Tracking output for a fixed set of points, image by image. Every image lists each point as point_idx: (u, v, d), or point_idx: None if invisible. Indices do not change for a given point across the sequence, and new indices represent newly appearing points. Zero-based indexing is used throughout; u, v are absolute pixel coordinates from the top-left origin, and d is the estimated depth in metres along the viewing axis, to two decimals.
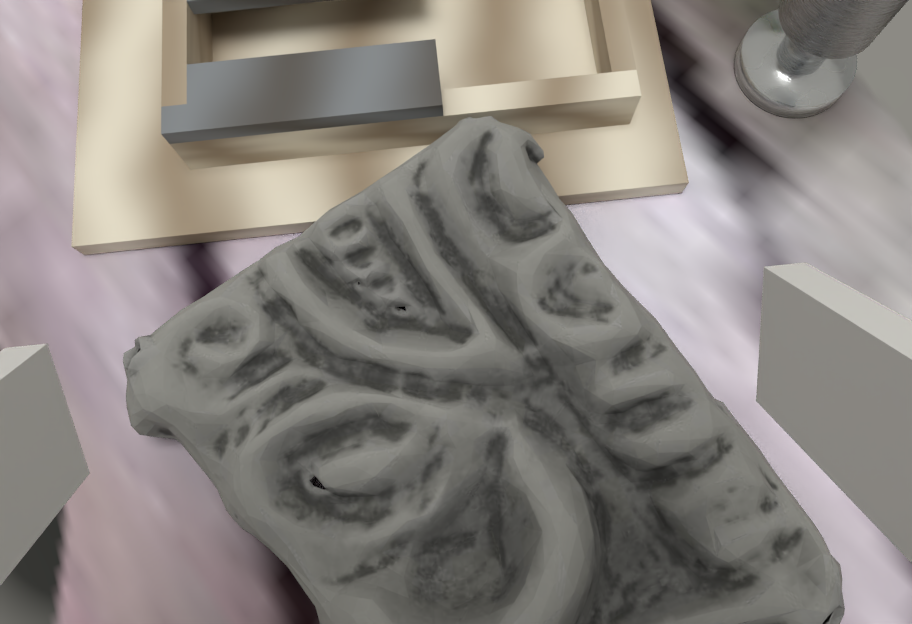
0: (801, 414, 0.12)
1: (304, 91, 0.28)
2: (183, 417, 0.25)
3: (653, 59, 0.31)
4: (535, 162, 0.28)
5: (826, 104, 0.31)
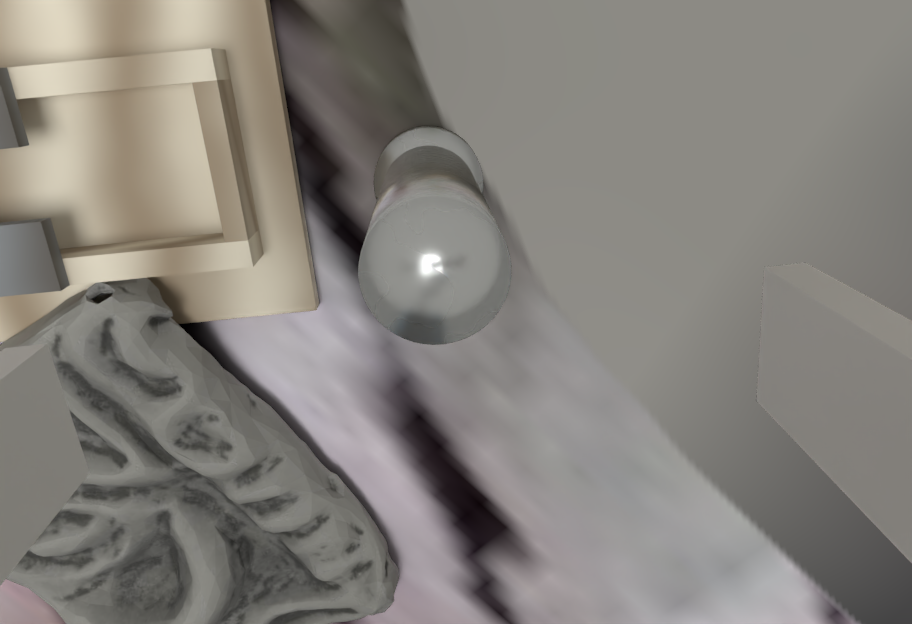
0: (801, 414, 0.12)
1: None
2: None
3: (286, 186, 0.32)
4: (165, 320, 0.32)
5: None
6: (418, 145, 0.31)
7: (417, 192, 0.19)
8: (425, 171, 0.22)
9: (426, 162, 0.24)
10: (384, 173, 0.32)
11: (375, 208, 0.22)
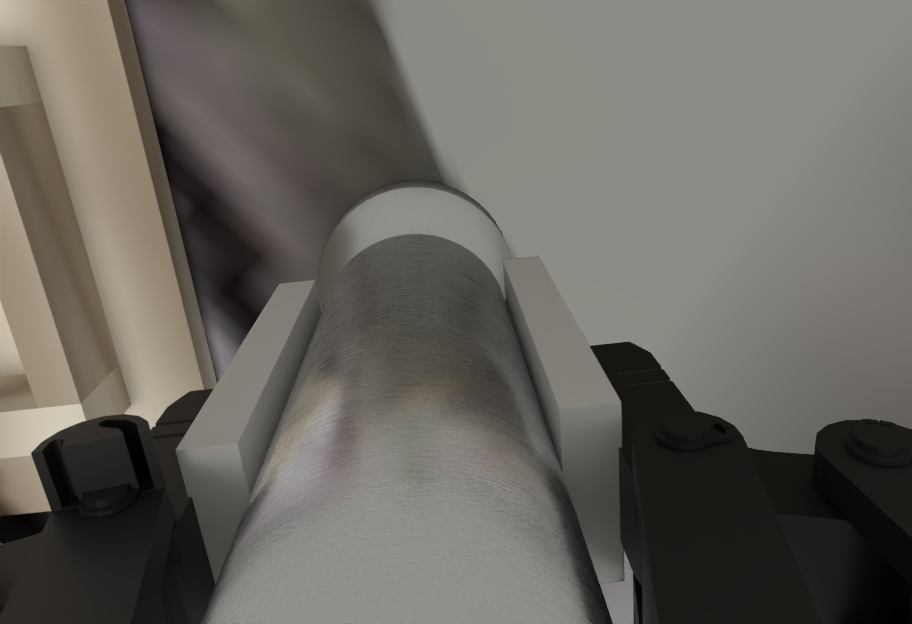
0: None
1: None
2: None
3: (163, 291, 0.18)
4: None
5: None
6: (398, 219, 0.17)
7: None
8: (389, 397, 0.08)
9: (400, 324, 0.10)
10: (337, 268, 0.18)
11: (246, 509, 0.08)
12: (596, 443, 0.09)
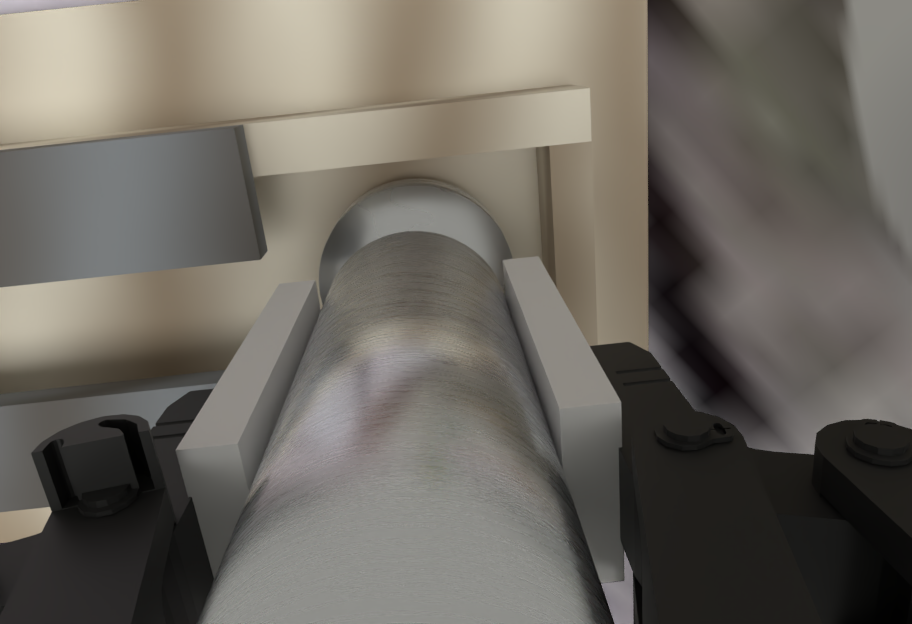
0: None
1: None
2: None
3: (634, 294, 0.20)
4: None
5: None
6: (398, 216, 0.17)
7: None
8: (389, 392, 0.08)
9: (399, 320, 0.10)
10: (337, 266, 0.18)
11: (244, 504, 0.08)
12: (596, 443, 0.09)
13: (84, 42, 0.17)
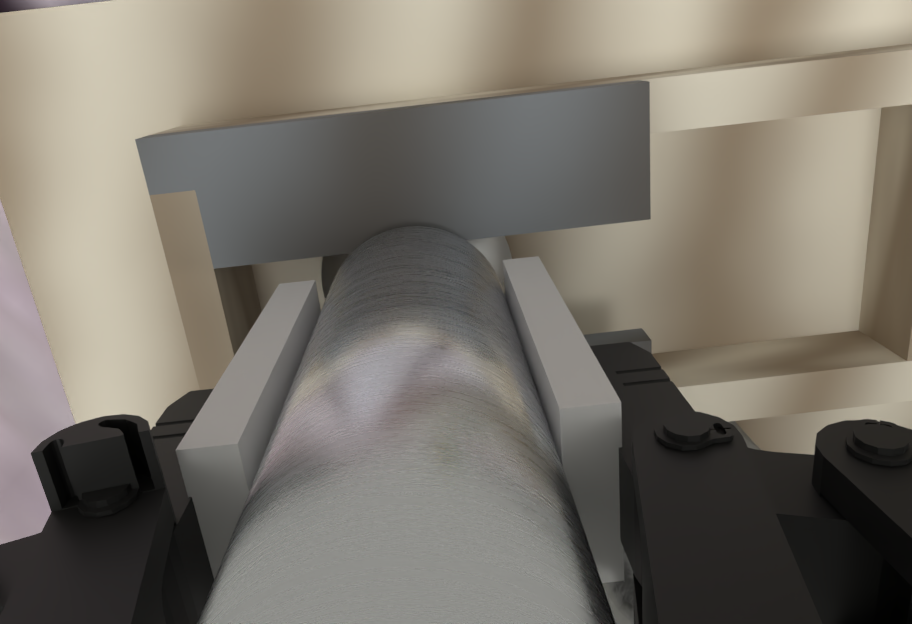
0: None
1: None
2: None
3: None
4: None
5: None
6: None
7: (335, 601, 0.05)
8: (391, 375, 0.08)
9: (401, 310, 0.10)
10: (339, 261, 0.18)
11: (254, 481, 0.08)
12: (596, 443, 0.09)
13: (446, 0, 0.17)
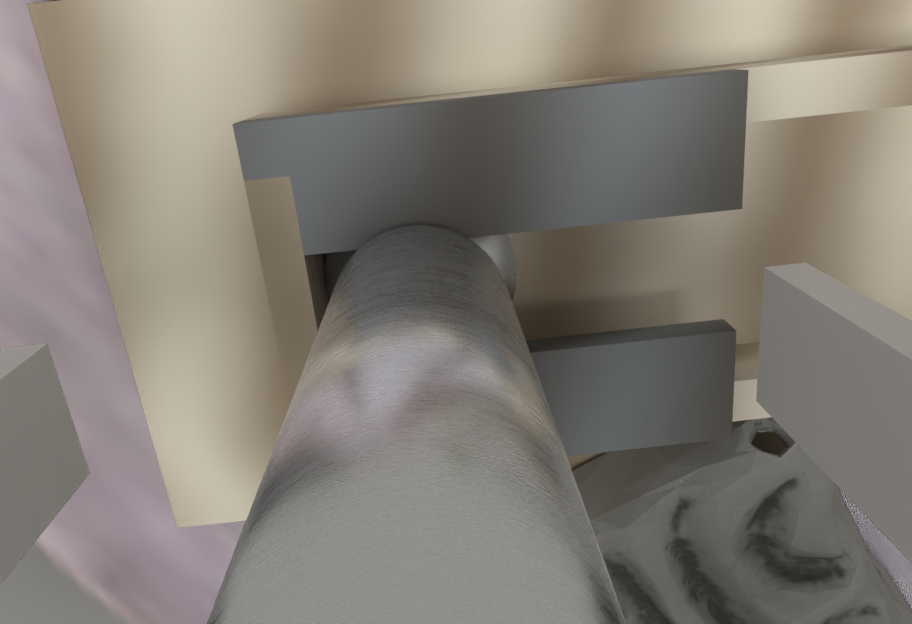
0: (801, 414, 0.12)
1: None
2: None
3: None
4: None
5: None
6: None
7: (349, 599, 0.05)
8: (400, 374, 0.08)
9: (408, 309, 0.10)
10: (343, 259, 0.18)
11: (262, 479, 0.08)
12: None
13: None
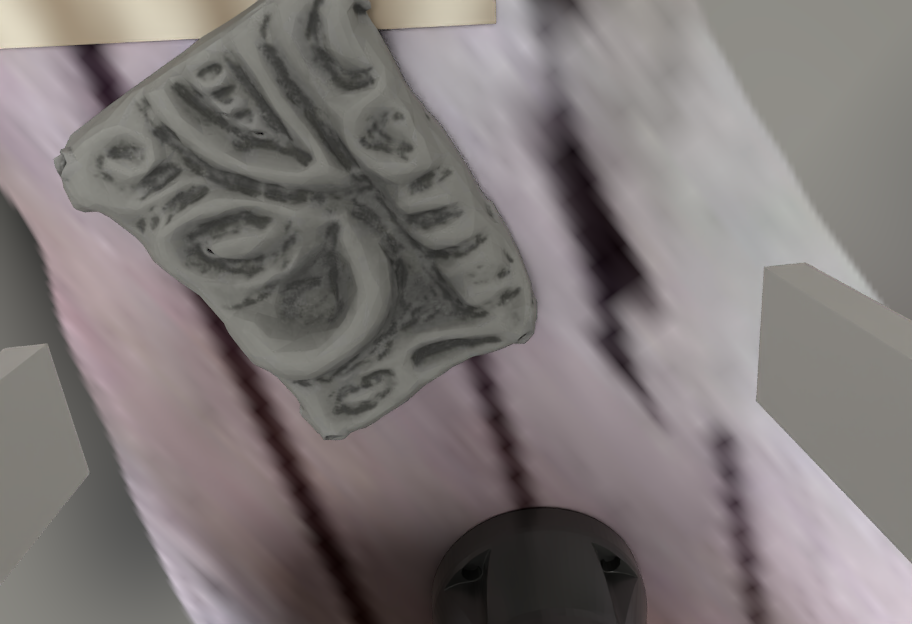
0: (801, 414, 0.12)
1: None
2: (110, 210, 0.36)
3: None
4: (363, 12, 0.34)
5: None
6: None
7: None
8: None
9: None
10: None
11: None
12: None
13: None
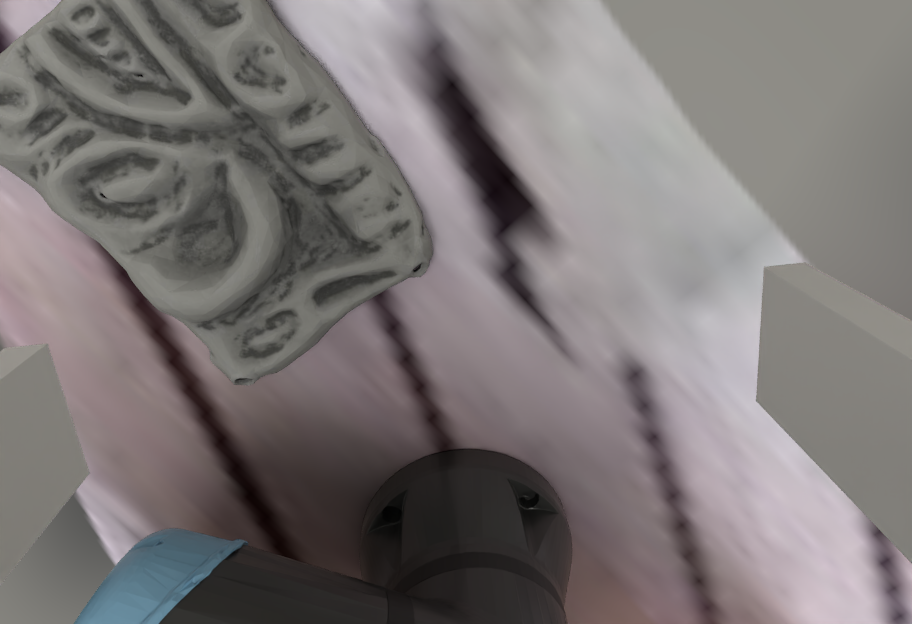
0: (801, 414, 0.12)
1: None
2: (1, 157, 0.38)
3: None
4: None
5: None
6: None
7: None
8: None
9: None
10: None
11: None
12: None
13: None
